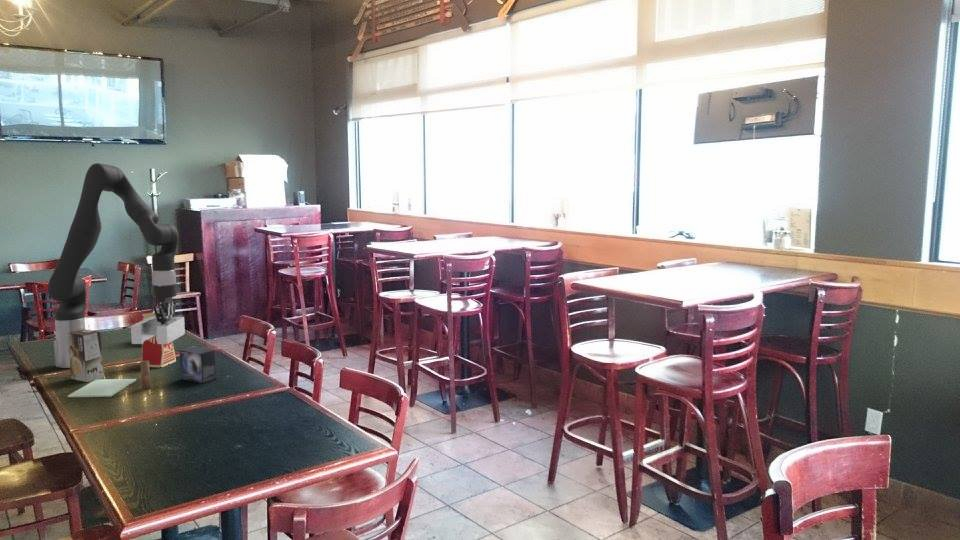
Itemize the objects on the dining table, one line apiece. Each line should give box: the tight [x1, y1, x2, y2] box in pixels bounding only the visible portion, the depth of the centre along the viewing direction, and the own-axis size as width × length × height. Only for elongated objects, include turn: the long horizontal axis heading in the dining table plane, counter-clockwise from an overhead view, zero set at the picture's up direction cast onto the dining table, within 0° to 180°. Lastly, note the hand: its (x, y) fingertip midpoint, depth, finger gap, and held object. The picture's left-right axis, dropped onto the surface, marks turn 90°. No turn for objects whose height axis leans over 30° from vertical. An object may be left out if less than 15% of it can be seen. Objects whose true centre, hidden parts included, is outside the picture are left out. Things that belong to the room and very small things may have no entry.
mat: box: [67, 378, 137, 398], centre depth 226 cm, size 13×18×1 cm
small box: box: [178, 345, 218, 384], centre depth 235 cm, size 11×6×10 cm, turn 62°
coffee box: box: [67, 328, 105, 383], centre depth 236 cm, size 9×6×16 cm
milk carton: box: [141, 312, 177, 368], centre depth 254 cm, size 9×9×20 cm
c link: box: [130, 316, 186, 345], centre depth 235 cm, size 15×11×6 cm
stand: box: [139, 360, 152, 391], centre depth 225 cm, size 3×3×9 cm
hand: (166, 332), depth 242 cm, fingers closed on c link
